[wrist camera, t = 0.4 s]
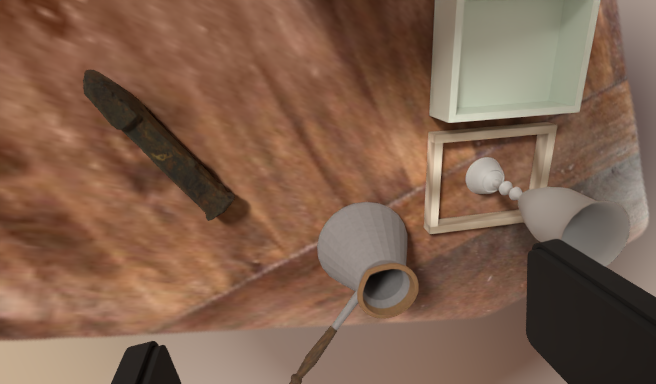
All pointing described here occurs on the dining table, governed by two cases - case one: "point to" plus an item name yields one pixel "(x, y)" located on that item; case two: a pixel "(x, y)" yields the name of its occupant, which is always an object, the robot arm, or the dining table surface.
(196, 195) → the hand tool
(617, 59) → the dining table surface
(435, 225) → the ash frame
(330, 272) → the coffee pot
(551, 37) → the sage bin
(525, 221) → the chalice
